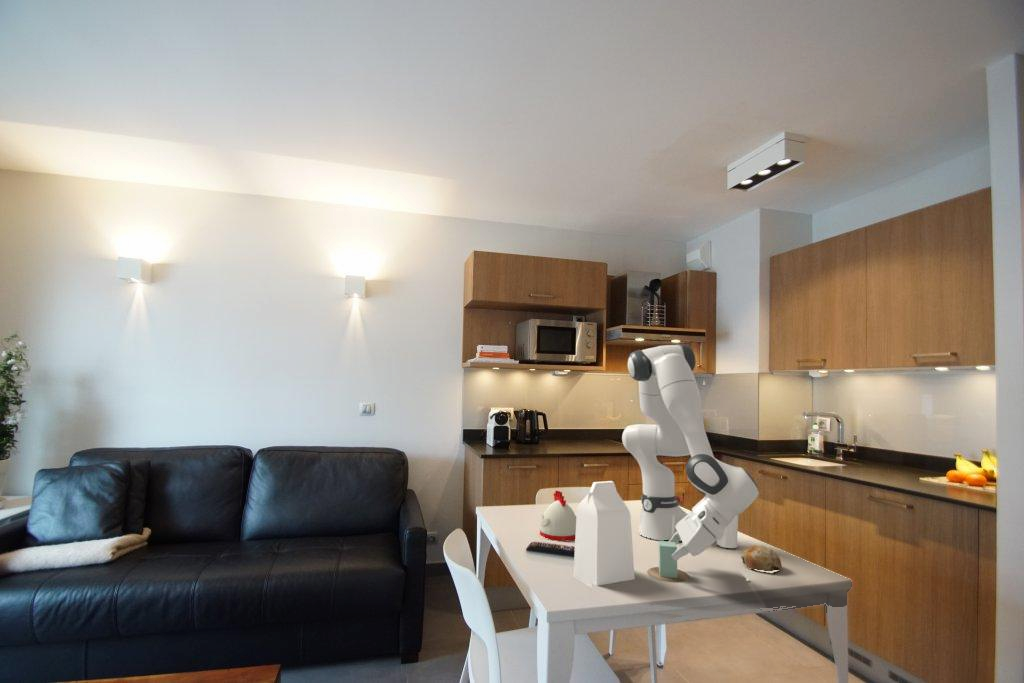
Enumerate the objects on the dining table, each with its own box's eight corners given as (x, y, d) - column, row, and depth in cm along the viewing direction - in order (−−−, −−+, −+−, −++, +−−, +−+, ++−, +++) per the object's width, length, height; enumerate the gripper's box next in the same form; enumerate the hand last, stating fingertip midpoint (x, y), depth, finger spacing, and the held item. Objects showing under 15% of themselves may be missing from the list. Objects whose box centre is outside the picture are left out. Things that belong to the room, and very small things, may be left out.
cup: (738, 552, 156) (737, 506, 157) (711, 547, 160) (711, 503, 162) (741, 545, 163) (740, 501, 164) (716, 541, 167) (715, 498, 169)
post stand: (665, 569, 139) (664, 544, 140) (698, 582, 130) (697, 555, 131) (638, 577, 133) (638, 550, 134) (671, 591, 124) (670, 563, 125)
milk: (596, 591, 123) (596, 487, 126) (573, 575, 134) (573, 479, 136) (634, 585, 128) (634, 484, 130) (609, 569, 138) (609, 477, 141)
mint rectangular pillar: (658, 570, 134) (658, 540, 135) (675, 572, 134) (674, 542, 134) (660, 576, 130) (660, 545, 131) (677, 578, 129) (676, 547, 130)
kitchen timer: (568, 528, 180) (568, 486, 181) (586, 539, 167) (586, 494, 168) (533, 531, 175) (534, 488, 176) (549, 542, 162) (550, 496, 164)
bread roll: (760, 587, 137) (770, 565, 135) (731, 560, 146) (740, 539, 143) (782, 581, 142) (792, 559, 139) (753, 556, 150) (762, 535, 148)
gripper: (693, 500, 142) (658, 532, 143) (706, 518, 122) (666, 555, 123) (709, 517, 141) (674, 549, 142) (725, 538, 121) (685, 575, 122)
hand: (671, 552), depth 132 cm, fingers open, 8 cm apart
